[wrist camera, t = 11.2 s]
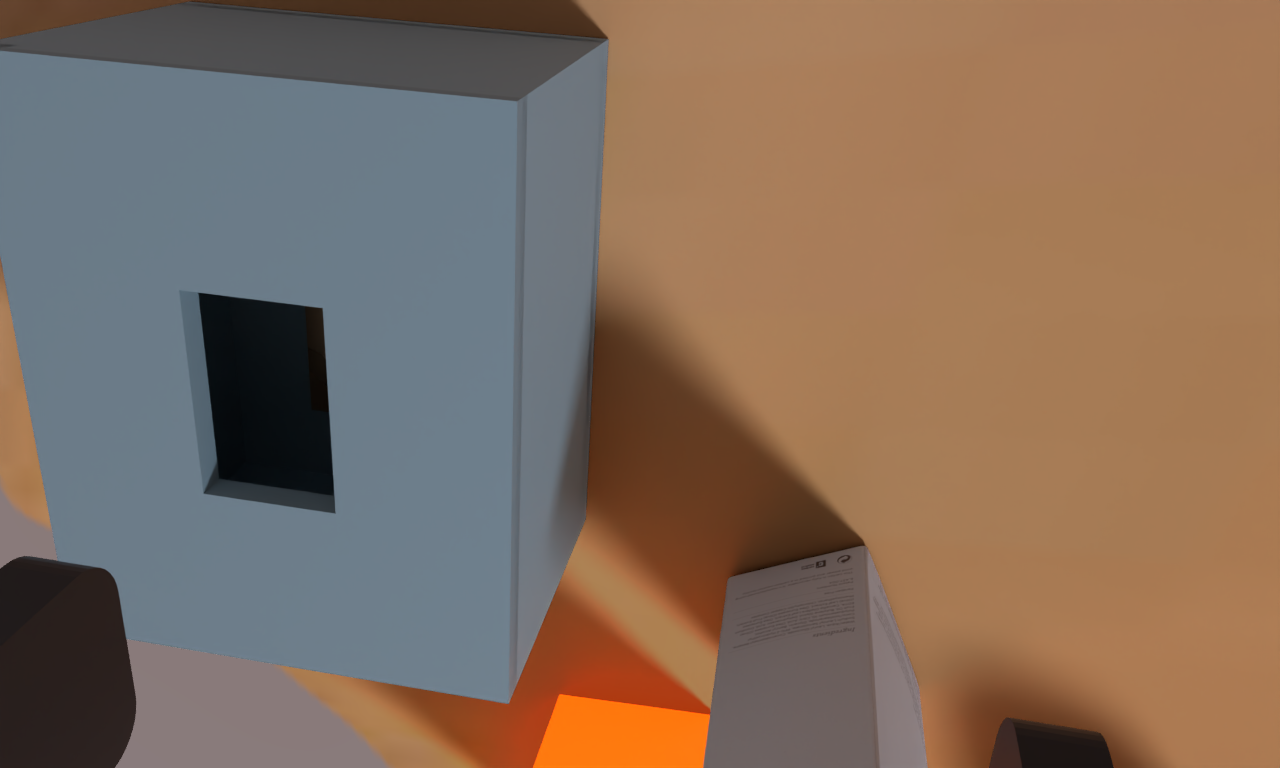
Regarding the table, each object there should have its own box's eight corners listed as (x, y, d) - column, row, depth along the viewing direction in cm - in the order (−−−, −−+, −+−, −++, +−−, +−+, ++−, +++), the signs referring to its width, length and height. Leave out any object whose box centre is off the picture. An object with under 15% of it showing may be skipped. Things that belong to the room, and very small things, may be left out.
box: (608, 39, 40) (517, 101, 29) (585, 519, 49) (508, 704, 38) (189, 1, 42) (-40, 47, 31) (237, 468, 51) (70, 629, 40)
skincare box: (726, 570, 48) (673, 855, 35) (877, 536, 46) (885, 823, 33) (787, 722, 51) (762, 1041, 37) (932, 695, 49) (962, 1022, 35)
